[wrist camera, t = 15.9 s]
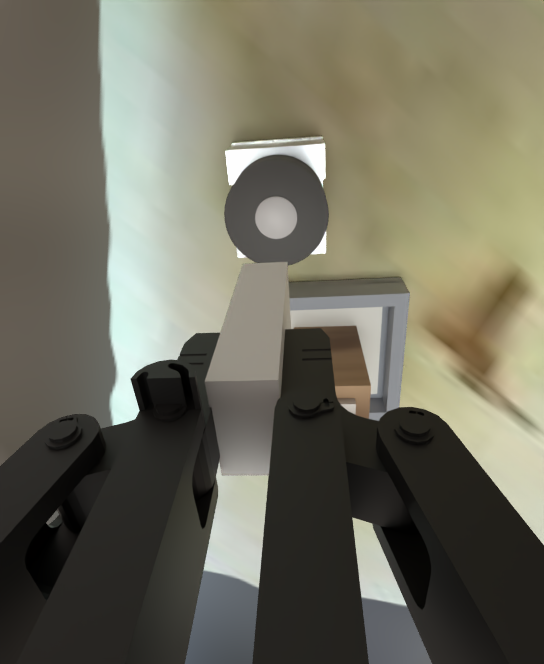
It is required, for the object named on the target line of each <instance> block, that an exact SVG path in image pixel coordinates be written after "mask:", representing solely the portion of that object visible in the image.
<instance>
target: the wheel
mask: <svg viewBox="0 0 544 664" xmlns="http://www.w3.org/2000/svg"><path fill="white" fill-rule="evenodd" d="M224 215H225V224H226V228H227V231H228V234H229V236H230V238H231V240H232V242H233V243H234V245H235V246H236V247H237V249H238V250H239V251H240V252H241V253H242V254H243V255H245V256H246V257H247V258H249V259H251V260H252V261H254V262H257V263H271V262H287V263H288V265H292V264H295V263H297V262H299V261H301V260H303V259H305V258H306V257H308V256H309V255H310V254H311V253H312V252H313V251H314V250H315V249H316V248H317V247H318V246H319V244H320V243H321V241H322V239H323V237H324V235H325V232H326V229H327V225H328V217H329V213H328V205H327V200H326V196H325V192H324V189H323V186H322V183H321V181H320V179H319V177H318V176H317V175H316V173H315V172H314V171H313V170H312V169H311V167H309V166H308V165H307V164H306V163H304V162H303V161H301V160H299V159H297V158H295V157H291V156H287V155H269V156H265V157H262V158H260V159H258V160H256V161H254V162H252V163H251V164H250V165H248V166H247V167H246V168H245V169H244V170H243V171H242V173H241V174H240V175H239V177H238V178H237V180H236V182H235V183H234V185H233V186H232V188H231V190H230V192H229V194H228V197H227V200H226V204H225V212H224Z"/></svg>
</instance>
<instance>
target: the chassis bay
mask: <svg viewBox="0 0 544 664" xmlns="http://www.w3.org/2000/svg"><path fill="white" fill-rule="evenodd" d="M409 297H410V293H409V291H408V289H407V287H406V285H405V284H404V282H403V280H402V278H401V277H395V278H373V279H351V280H330V281H308V282H289V299H290V317H291V329H294V327H324V326H356V327H357V331H358V335H359V339H360V343H361V347H362V351H363V355H364V359H365V363H366V367H367V371H368V375H369V379H370V383H371V395H370V410H369V419H372V420H377V421H379V420H380V418H381V417H382V416H383V415H384V414H385V413H386V412H387V411H390V410H393V409H396V408H399V402H400V392H401V381H402V371H403V360H404V349H405V339H406V328H407V318H408V307H409Z"/></svg>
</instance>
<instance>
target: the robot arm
mask: <svg viewBox="0 0 544 664" xmlns="http://www.w3.org/2000/svg"><path fill="white" fill-rule="evenodd" d="M131 382H132V386H133V389H134V392H135V396H136V399H137V403H138V406H139V410H140V411H139V413H138V415H137V417H136V419H135V420H132V421H129V422H126V423H123V424H118V425H114V426H110V427H106V428H102V429H101V428H100V426H99V423H98V422H97V420H96V419H95V418H94V417H92V416H89V415H86V414H74V415H69V416H65V417H61V418H59V419H57V420H55V421H52V422H50V423H49V424H47V425H46V426H45V427H43V428H42V429H40V430H39V431H38V432H37V433H35V434H34V435H33V436H32V437H31V438H30V439H29V440H28V441H27V442H26V443H25V444H24V445H22V446H21V447H20V448H19V449H18V450H17V451H16V452H15V453H14V454H13V455H12V456H11V457H10V458H8V459H7V460H6V461H5V462H4V463H3V464H2V465H1V466H0V664H185V659H186V655H187V649H188V644H189V639H190V634H191V629H192V624H193V619H194V614H195V609H196V604H197V598H198V594H199V589H200V584H201V579H202V574H203V569H204V564H205V559H206V554H207V549H208V544H209V539H210V534H211V529H212V524H213V518H214V513H215V508H216V503H217V498H218V485H217V480H216V473H217V468H218V464H219V462H220V467H221V473H222V475H269V479H268V491H267V502H266V514H265V525H264V537H263V548H262V560H261V571H260V583H259V595H258V606H257V618H256V630H255V642H254V652H253V664H369V662H368V654H367V644H366V635H365V627H364V618H363V609H362V600H361V591H360V582H359V573H358V564H357V556H356V547H355V538H354V529H353V520H352V517H353V518H356V519H360V520H363V521H366V522H369V523H372V524H373V528H374V531H375V533H376V535H377V538H378V540H379V542H380V545H381V547H382V549H383V551H384V554H385V556H386V558H387V561H388V563H389V565H390V568H391V570H392V572H393V574H394V577H395V579H396V581H397V584H398V586H399V588H400V591H401V593H402V595H403V597H404V600H405V602H406V604H407V607H408V609H409V611H410V614H411V616H412V618H413V620H414V623H415V625H416V627H417V629H418V632H419V634H420V636H421V639H422V641H423V643H424V646H425V648H426V650H427V653H428V655H429V657H430V659H431V662H432V664H544V545H543V544H542V543H541V541H540V540H539V539H538V538H537V536H536V535H535V534H534V533H533V531H532V530H531V529H530V527H529V526H528V525H527V524H526V522H525V521H524V520H523V519H522V517H521V516H520V515H519V514H518V512H517V511H516V510H515V509H514V507H513V506H512V505H511V504H510V502H509V501H508V500H507V498H506V497H505V496H504V495H503V493H502V492H501V491H500V490H499V488H498V487H497V486H496V485H495V483H494V482H493V481H492V480H491V478H490V477H489V476H488V475H487V473H486V472H485V471H484V470H483V468H482V467H481V466H480V464H479V463H478V462H477V461H476V459H475V458H474V457H473V456H472V454H471V453H470V452H469V451H468V449H467V448H466V447H465V446H464V444H463V443H462V442H461V441H460V439H459V438H458V437H457V436H456V434H455V433H454V432H453V430H452V429H451V428H450V427H449V425H448V424H447V423H446V422H445V421H443V420H442V419H441V418H440V417H439V416H438V415H436V414H433V413H431V412H429V411H427V410H424V409H419V408H414V407H401V408H396V409H393V410H390V411H387V412H386V413H385V414H384V415H383V416H382V417H381V418H380V420H379V421H377V420H372V419H368V418H364V417H361V416H357V415H355V414H353V413H351V412H349V411H348V410H346V409H345V408H344V407H343V406H342V405H341V404H340V403H339V401H338V399H337V396H336V391H335V382H334V373H333V364H332V354H331V345H330V337H329V336H328V335H327V334H326V333H325V332H324V331H323V330H322V329H321V328H310V329H291V317H290V299H289V281H288V263H287V262H271V263H249V264H243V265H242V268H241V271H240V274H239V277H238V280H237V283H236V286H235V289H234V292H233V295H232V299H231V302H230V305H229V308H228V311H227V314H226V317H225V320H224V323H223V326H222V329H221V333H196V334H195V335H194V336H193V337H191V338H190V339H189V340H188V341H187V342H186V343H185V344H184V346H183V348H182V350H181V353H180V356H179V357H178V359H177V360H165V361H158V362H156V363H153V364H150V365H147V366H145V367H144V368H142V369H140V370H139V371H137V372H136V373H135V374H134V376H133V377H132V378H131ZM56 510H57V511H58V513H59V516H58V517H57V518H56V519H55V520H54V521H53V522H52V523H50V524H49V525H47V524H46V522H47V521H48V520H49V518H50V517H51V516H52V515H53V514H54V512H55V511H56Z"/></svg>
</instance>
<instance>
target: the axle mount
mask: <svg viewBox="0 0 544 664" xmlns="http://www.w3.org/2000/svg"><path fill="white" fill-rule="evenodd" d="M225 153H226V161H227V170H228V179H229V185H234V183H235V182H236V180H237V178H238V177H239V175H240V174H241V173H242V171H243V170H244V169H245V168H246V167H247V166H248V165H250V164H251V163H252V162H254V161H256V160H258V159H260V158H262V157H265V156H269V155H287V156H291V157H295V158H297V159H299V160H301V161H303V162H304V163H306V164H307V165H308V166H309V167H311V169H312V170H313V171H314V172H315V173H316V175H317V176H318V177H319V179H320V181H321V183H322V186H323V179H325V143H324V141H323V139H322V136H309V137H295V138H281V139H267V140H253V141H239V142H233V143H232V145H231V146H230V147H229V148H228V149H227V150H226V151H225ZM236 248H237V247H236ZM322 253H326V232H325V235H324V237H323V239H322V241H321V243H320V244H319V246H318V247H317V248H316V249H315V250H314V251H313V252H312V253H311V254H322ZM237 257H238V258H243V257H246V256H245V255H243V254H242V253H241V252H240V251H239V250H238V249H237Z"/></svg>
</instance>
